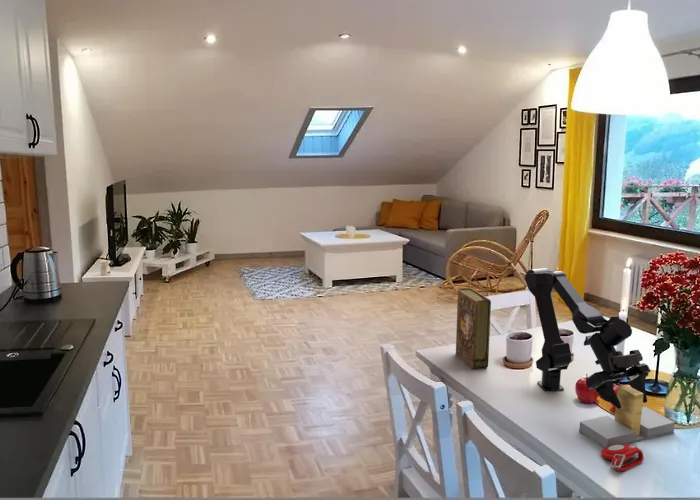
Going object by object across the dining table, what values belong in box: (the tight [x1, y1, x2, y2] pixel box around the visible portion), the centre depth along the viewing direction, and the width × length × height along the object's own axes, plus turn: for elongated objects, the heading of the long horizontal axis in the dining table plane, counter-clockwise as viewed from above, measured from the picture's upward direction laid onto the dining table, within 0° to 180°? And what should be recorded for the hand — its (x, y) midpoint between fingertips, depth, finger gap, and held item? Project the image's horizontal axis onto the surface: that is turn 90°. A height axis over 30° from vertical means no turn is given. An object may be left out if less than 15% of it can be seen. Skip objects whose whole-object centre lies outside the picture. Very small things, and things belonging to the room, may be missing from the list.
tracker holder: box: [600, 443, 644, 471], centre depth 148 cm, size 12×4×10 cm
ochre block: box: [614, 384, 644, 435], centre depth 162 cm, size 6×3×12 cm, turn 21°
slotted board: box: [578, 406, 676, 449], centre depth 163 cm, size 10×24×3 cm, turn 111°
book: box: [455, 287, 492, 370], centre depth 211 cm, size 16×6×25 cm, turn 14°
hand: (633, 405), depth 160 cm, fingers open, 9 cm apart
